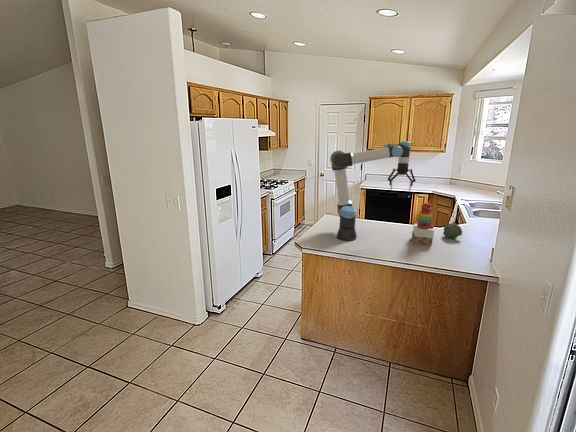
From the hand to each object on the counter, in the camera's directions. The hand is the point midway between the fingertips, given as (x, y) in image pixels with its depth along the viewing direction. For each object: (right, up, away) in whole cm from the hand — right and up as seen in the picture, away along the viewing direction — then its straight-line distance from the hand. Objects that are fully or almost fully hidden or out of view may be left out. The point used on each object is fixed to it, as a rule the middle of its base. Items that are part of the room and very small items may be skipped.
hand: (400, 190), depth 240 cm
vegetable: (+40, -37, +1) cm, 54 cm away
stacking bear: (+13, -28, -12) cm, 33 cm away
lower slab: (+13, -39, -8) cm, 42 cm away
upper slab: (+13, -34, -10) cm, 37 cm away
